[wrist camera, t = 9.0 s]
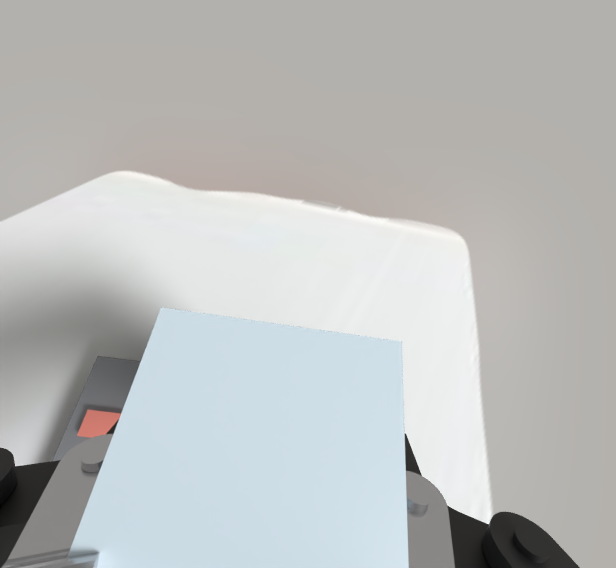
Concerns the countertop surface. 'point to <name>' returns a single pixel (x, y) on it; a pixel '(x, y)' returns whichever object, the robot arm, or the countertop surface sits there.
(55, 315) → the countertop surface
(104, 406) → the power strip
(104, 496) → the block
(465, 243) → the countertop surface
